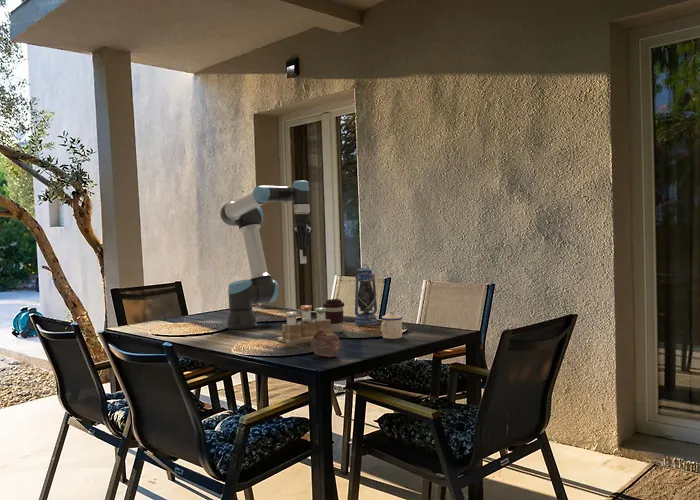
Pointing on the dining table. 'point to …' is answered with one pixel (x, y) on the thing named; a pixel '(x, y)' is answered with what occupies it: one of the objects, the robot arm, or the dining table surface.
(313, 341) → the stone
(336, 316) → the coffee cup
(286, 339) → the beige boxy slotted piece
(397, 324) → the white enamel mug
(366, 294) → the lantern
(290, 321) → the cream plunger
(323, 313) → the sage plunger
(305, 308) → the terracotta plunger
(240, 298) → the robot arm
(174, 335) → the dining table surface
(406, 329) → the dining table surface
